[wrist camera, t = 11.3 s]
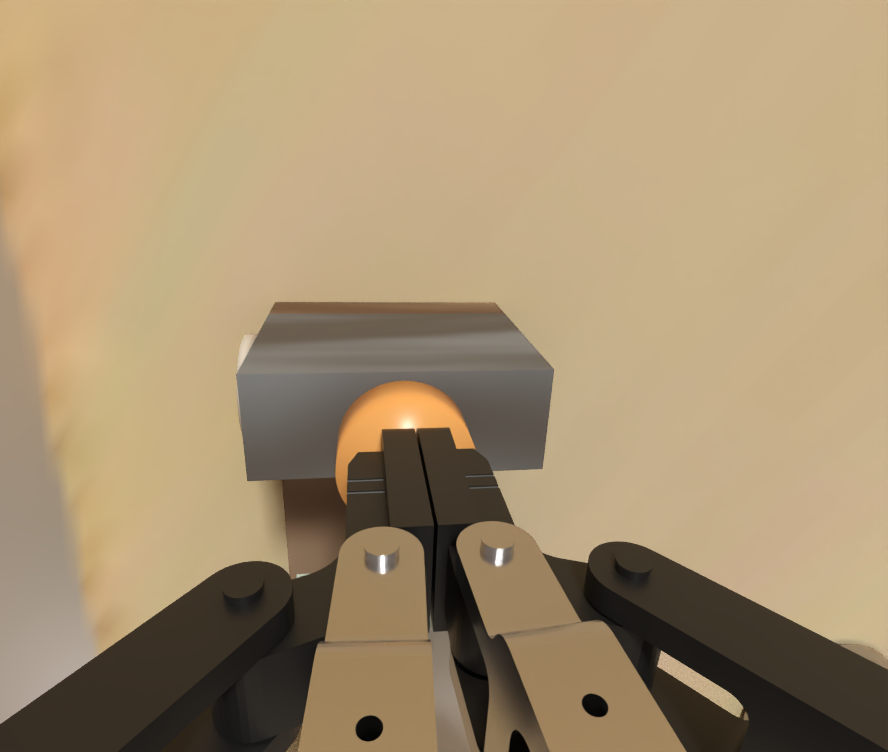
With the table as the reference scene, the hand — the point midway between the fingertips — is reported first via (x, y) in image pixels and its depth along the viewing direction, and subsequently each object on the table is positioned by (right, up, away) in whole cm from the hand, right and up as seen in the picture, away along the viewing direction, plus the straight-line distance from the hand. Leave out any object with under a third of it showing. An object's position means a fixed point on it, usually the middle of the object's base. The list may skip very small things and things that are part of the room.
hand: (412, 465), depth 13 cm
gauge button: (0, 0, +1) cm, 2 cm away
